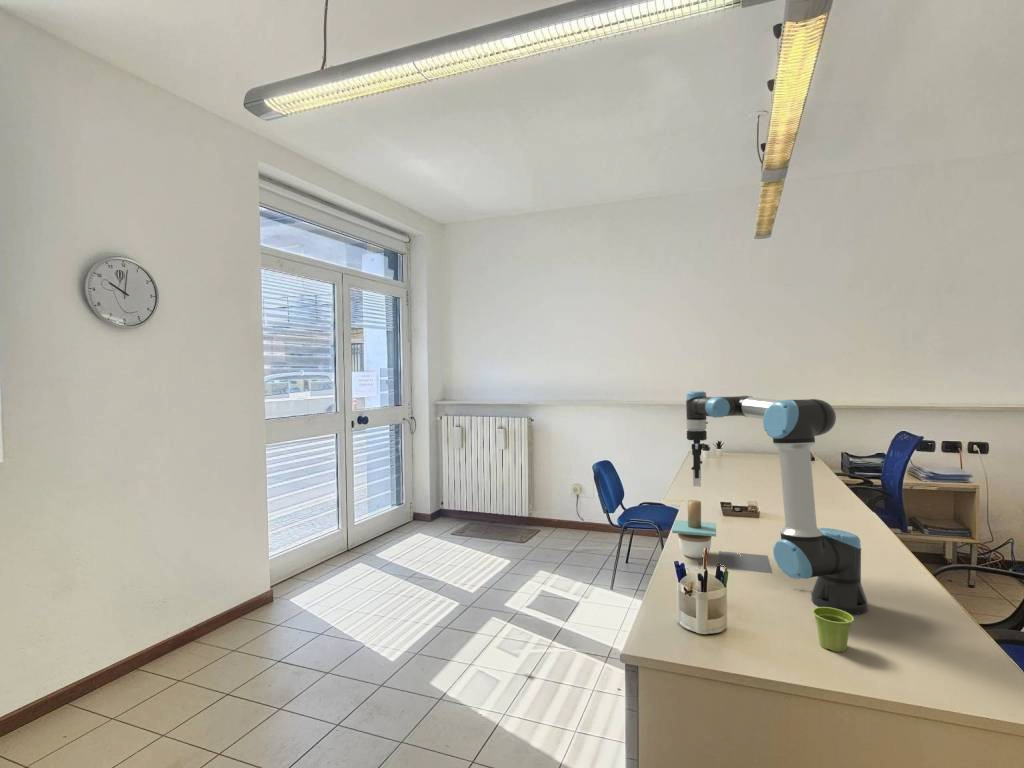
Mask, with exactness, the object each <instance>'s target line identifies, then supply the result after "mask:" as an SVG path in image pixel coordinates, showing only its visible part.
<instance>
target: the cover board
mask: <svg viewBox="0 0 1024 768" xmlns="http://www.w3.org/2000/svg"><path fill="white" fill-rule="evenodd" d="M672 526H673V527H672V531H671V533H672V534H677V535H678V534H690V535H703V536H711V537H714V538H715V537H717V523H716V522H707V521H702V502H701V501H700V500H696V499H695V500H694V499H690V500H688V501H687V520H681V519H680V520H679V519H674V522H673V525H672Z"/></svg>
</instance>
